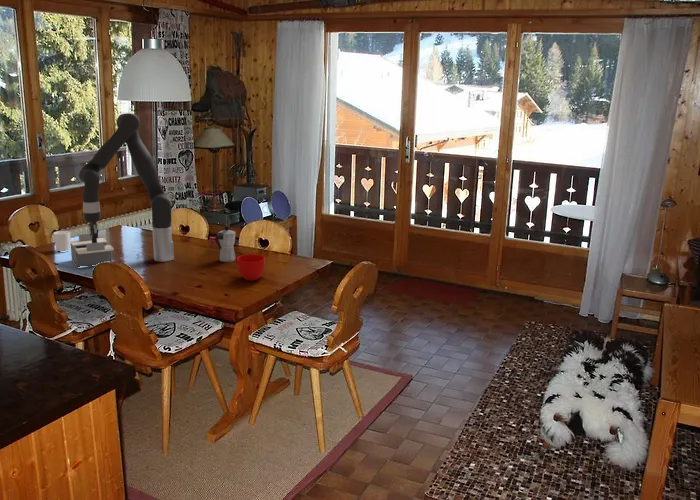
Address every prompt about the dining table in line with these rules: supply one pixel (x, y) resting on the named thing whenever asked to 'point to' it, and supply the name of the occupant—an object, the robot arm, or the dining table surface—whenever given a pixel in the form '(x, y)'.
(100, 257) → the box
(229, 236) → the coffee maker
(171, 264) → the dining table surface
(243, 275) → the ceramic cup
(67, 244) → the white cup
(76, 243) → the far panel
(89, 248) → the near panel
